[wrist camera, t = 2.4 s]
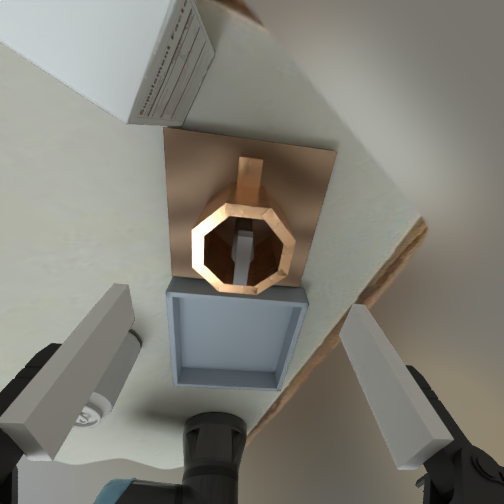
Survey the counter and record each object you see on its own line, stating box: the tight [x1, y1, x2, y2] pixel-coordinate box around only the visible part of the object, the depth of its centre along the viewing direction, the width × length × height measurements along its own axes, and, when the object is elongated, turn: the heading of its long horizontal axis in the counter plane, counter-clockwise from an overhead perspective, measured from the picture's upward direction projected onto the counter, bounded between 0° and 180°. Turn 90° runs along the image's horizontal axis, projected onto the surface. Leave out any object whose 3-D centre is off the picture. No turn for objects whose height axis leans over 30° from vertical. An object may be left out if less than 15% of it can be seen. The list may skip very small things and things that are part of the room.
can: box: [72, 331, 141, 428], centre depth 33 cm, size 8×8×12 cm
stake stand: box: [163, 127, 337, 287], centre depth 23 cm, size 18×18×11 cm
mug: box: [192, 155, 296, 295], centre depth 23 cm, size 12×9×8 cm
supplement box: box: [0, 0, 215, 126], centre depth 15 cm, size 7×7×13 cm
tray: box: [166, 276, 309, 391], centre depth 37 cm, size 22×20×4 cm
